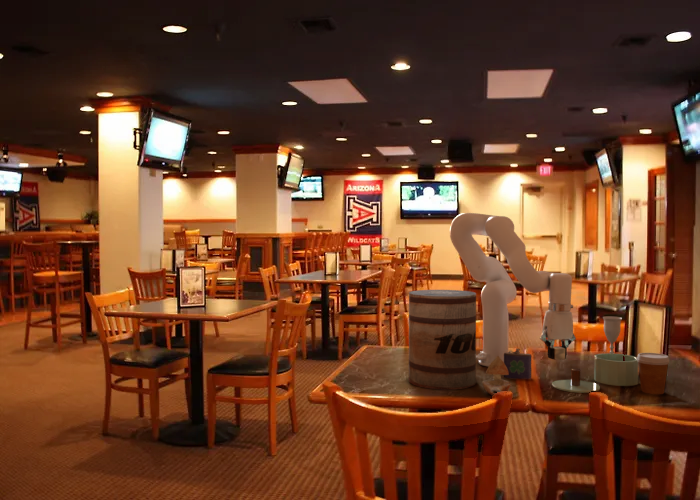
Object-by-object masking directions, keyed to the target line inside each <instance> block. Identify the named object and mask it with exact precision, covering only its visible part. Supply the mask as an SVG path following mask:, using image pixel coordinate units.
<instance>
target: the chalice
mask: <svg viewBox="0 0 700 500" xmlns="http://www.w3.org/2000/svg"><path fill="white" fill-rule="evenodd" d="M602 319H603V333H604V335H605V337H606V340H607V341H608V342H609V343H610V345H609V348H610V350H609V353H613V354H615V351H614V349H615V346H614V343H615V342H617V340H618V338H619V336H620V334H621V326H622V325H621V321H622V319H623V317H620V316H612V315H610V316H609V315H607V316H605V315H604V316H602Z"/></svg>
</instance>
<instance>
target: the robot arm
mask: <svg viewBox="0 0 700 500" xmlns="http://www.w3.org/2000/svg"><path fill="white" fill-rule="evenodd" d="M450 224H451V225H450V227H449V238H450V241H451V244H452V245H453V247H454V248H455V251H456V252H457V254H458V255H459V257H460V259H461V260H462V262H463V265H464V266H465V267H466V269H467V270H468V272H469V274H470V276H471V277H472V278H473V280H474V281H476V282H481V283H482V282H485V283H486V284H485V285H484V286H483V288H482V290H481V294H480V297H481V298H480V300H481V306H482V351H479V353H478V354H476V361H478V364H479V365H481V366H483V367H487V368H488V367H489V365H490V364H491V363H492V361H493V360H494V359H495V358H496V357H497V356H499V357H500V358H501V360H502V361H503V362H504V353H506V352H509V339H510V337H509V333H510V332H509V331H510V330H509V329H510V327H509V326H510V325H509V323H510V321H509V318H510V317H509V309H508V304H510V303H513V302H514V301H515V299H516V298H517V287H516V285H515V283H514V281H513V279H512V278H511V277H510V275H509V273H508V272H507V270H506V269H505V267H504V265H503V264H502V262H500V261H499V260H498V259H497V258H496V257H493V256H487V255H486V253H485V252H484V251H483V249H482V247H481V246H480V244H479V243H478V242H477V240H476V239H475V238H474V236H475V235H476V236H485V237H489V239H490V240H491V241H492V243H493V244H494V245H495V246H496V247H497V249H498V250H499V252H501V254H502V255H503V257H504V258H505V259H506V262H507V264H508V266H509V269H510V270H511V272H512V274H513V276H514V277H515V279H516V280H518V282H519V283H520V285H521V286H522V287H523V288H524V289H525V290H526V291H527V292H529V293H532V294H538V293H542V292H543V293H544V292H548V306H547V307H548V310H545V312H544V313H545V314H544V317H543V323H542V324H543V325H542V330H541V335H540V336H539V340H540V342H543V343H544V345H545V346H546V347H547V358H548V359H550V360H554V352H555V348H553V347H555V341H560V344H561V345H560V346H559V347H562V348H565V360H566V359H567V353H568V351H567V350H568V348H569V347H570V345H571V344H572V343H573V342H574V341H576V339H577V337H576V335H575V333H574V318H573V312H572V310H571V309H574V305H573V304H572V287H573V286H572V285H573V277H572V275H571V274H569V273H564V272H551V271H545V270H538V271H537V269H536V268H535V267H534V265H533V264H532V263H531V262H530V260H529V258H528V257H527V254H526V244H525V242H524V241H523V240H522V238H520V236H519V235H518V234H517V233H516V232H515V224H514V222H513V221H512V219H511V218H510V217H507V216H504V215H492V214H486V213H485V214H484V213H477V212H475V213H474V212H464V213H460V214H458V215H456V217H454V218H453V220H452V221H451V223H450Z"/></svg>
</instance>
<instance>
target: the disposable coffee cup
mask: <svg viewBox="0 0 700 500" xmlns="http://www.w3.org/2000/svg"><path fill="white" fill-rule="evenodd" d="M636 357H637V358H636V359H637V361H638V367H639V383H640V390H641V392H642V393H645V394H648V395H649V394H650V395H664V393H665V387H666V383H667V382H666V381H667V374H668V368H669V365H670V363H671V359H670V358H669V356H668V355H667V354H663V353H658V352H640V353H638V354H637V356H636Z"/></svg>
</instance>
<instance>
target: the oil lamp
mask: <svg viewBox="0 0 700 500" xmlns="http://www.w3.org/2000/svg"><path fill="white" fill-rule="evenodd" d="M485 374H486V375H491V376H493V377H492V379H484V380H483V381H482V387H483V389H484V390H485V392H486V393H487V394H489V395H491V396H492V397H493V395H494V394H495V393H497V392H500V391H507V392H508V391H509V390H510V388H511V385H512V383H511V381H509V380H505V379H502V376H504V375H509V373H508V369H507V367H506V365H505V364H504V362H503V361H502V360H501V358H500V357H499V356H497V357H496V358H495V359H494V360H493V361H492V363H491V364H490V365H489V367H488V366H487V369H486V372H485Z"/></svg>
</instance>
